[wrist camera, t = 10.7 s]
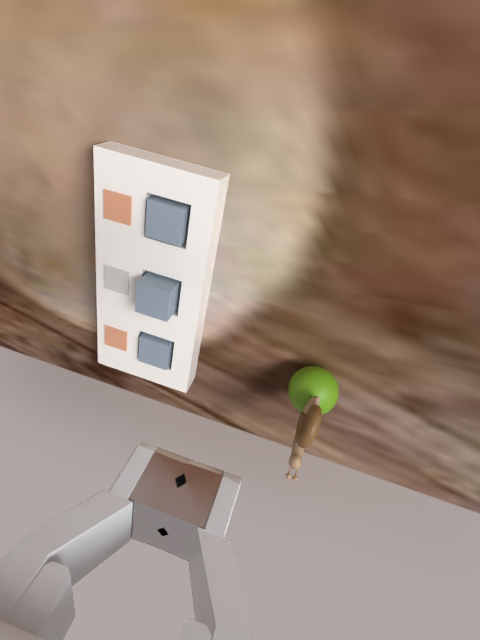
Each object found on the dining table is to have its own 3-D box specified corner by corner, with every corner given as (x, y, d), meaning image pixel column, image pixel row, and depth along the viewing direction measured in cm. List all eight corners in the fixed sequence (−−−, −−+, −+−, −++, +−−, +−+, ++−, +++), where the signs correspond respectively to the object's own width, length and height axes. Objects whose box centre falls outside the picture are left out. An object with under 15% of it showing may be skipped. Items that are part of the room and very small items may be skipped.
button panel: (111, 141, 37) (92, 145, 34) (229, 173, 35) (219, 181, 33) (110, 349, 51) (97, 363, 49) (194, 377, 50) (185, 394, 47)
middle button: (150, 269, 41) (136, 281, 38) (182, 278, 40) (169, 292, 38) (148, 297, 43) (134, 311, 40) (178, 307, 42) (166, 322, 40)
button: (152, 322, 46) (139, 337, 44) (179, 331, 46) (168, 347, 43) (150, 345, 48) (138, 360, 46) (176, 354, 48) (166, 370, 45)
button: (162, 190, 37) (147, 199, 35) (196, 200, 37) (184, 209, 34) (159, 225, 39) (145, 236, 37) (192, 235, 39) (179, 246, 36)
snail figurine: (284, 389, 47) (263, 470, 37) (300, 349, 43) (282, 428, 33) (326, 404, 46) (317, 491, 37) (347, 366, 43) (342, 451, 33)
